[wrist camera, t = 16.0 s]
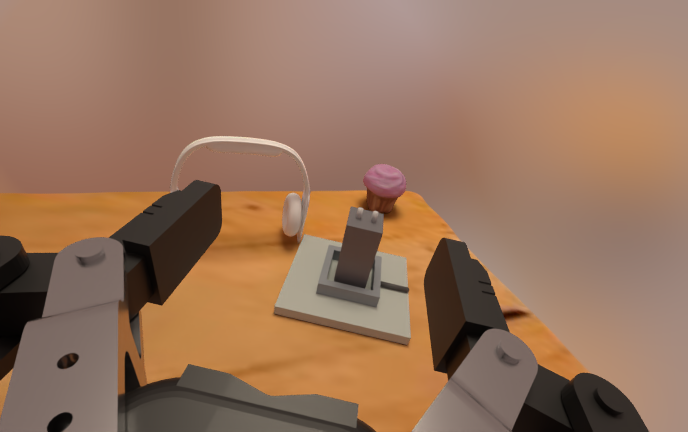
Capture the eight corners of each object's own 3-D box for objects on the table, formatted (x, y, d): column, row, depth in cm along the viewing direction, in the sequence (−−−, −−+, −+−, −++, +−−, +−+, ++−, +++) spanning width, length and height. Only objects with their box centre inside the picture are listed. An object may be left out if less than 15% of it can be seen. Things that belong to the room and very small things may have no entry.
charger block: (332, 286, 44) (348, 216, 38) (337, 265, 48) (352, 197, 42) (363, 293, 44) (385, 224, 38) (365, 271, 48) (386, 205, 42)
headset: (300, 226, 57) (312, 134, 48) (307, 252, 52) (322, 154, 42) (180, 228, 51) (166, 122, 41) (173, 257, 46) (155, 143, 36)
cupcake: (365, 219, 63) (377, 176, 58) (352, 197, 70) (362, 156, 64) (403, 219, 66) (418, 178, 61) (387, 197, 73) (399, 158, 67)
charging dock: (273, 313, 41) (275, 295, 39) (303, 240, 54) (305, 224, 52) (407, 345, 40) (415, 328, 39) (403, 264, 54) (409, 249, 52)
